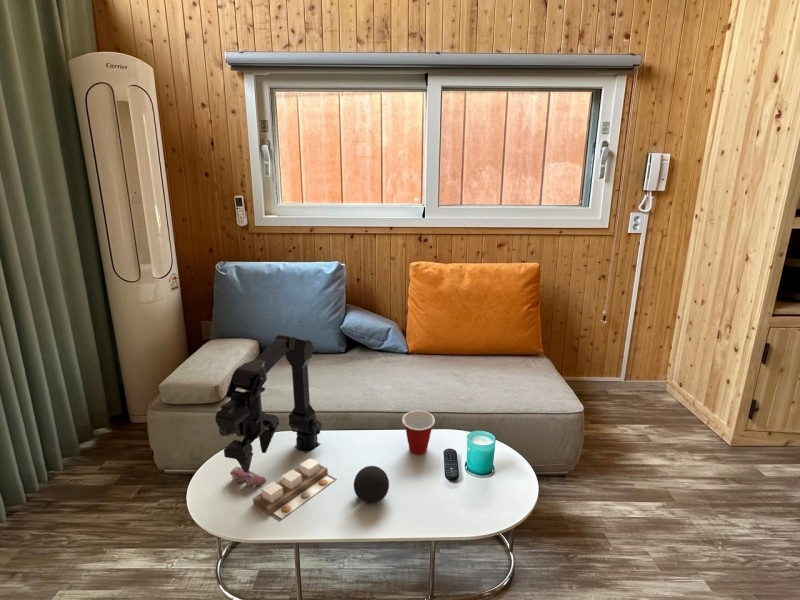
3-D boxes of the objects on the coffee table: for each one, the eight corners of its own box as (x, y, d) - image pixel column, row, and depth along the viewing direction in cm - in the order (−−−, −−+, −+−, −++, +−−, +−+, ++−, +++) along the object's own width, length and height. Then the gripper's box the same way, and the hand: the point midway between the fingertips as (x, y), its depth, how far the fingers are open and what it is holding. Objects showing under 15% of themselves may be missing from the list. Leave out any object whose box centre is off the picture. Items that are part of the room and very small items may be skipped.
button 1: (273, 490, 133) (273, 481, 132) (283, 496, 131) (282, 487, 130) (262, 498, 130) (261, 489, 129) (271, 504, 128) (271, 494, 127)
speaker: (347, 506, 130) (347, 475, 128) (363, 484, 139) (363, 455, 137) (380, 515, 127) (380, 484, 124) (394, 493, 136) (394, 463, 133)
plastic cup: (399, 458, 152) (400, 425, 149) (404, 440, 162) (404, 409, 159) (432, 461, 151) (433, 428, 147) (435, 442, 161) (436, 411, 158)
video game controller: (234, 484, 141) (224, 472, 137) (244, 471, 144) (234, 458, 140) (259, 494, 137) (249, 482, 133) (268, 480, 140) (259, 468, 135)
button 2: (310, 466, 144) (309, 458, 143) (319, 471, 142) (319, 462, 141) (300, 473, 141) (299, 464, 140) (309, 478, 139) (309, 469, 138)
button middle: (292, 478, 139) (292, 469, 138) (302, 483, 136) (301, 474, 135) (282, 485, 135) (281, 476, 135) (291, 490, 133) (290, 481, 132)
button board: (311, 467, 147) (311, 460, 146) (337, 480, 141) (337, 473, 140) (253, 506, 130) (253, 498, 129) (279, 523, 124) (278, 515, 123)
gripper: (243, 392, 136) (248, 439, 140) (202, 425, 118) (209, 478, 123) (278, 397, 133) (281, 445, 137) (241, 431, 116) (246, 485, 120)
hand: (255, 462), depth 129 cm, fingers open, 9 cm apart
